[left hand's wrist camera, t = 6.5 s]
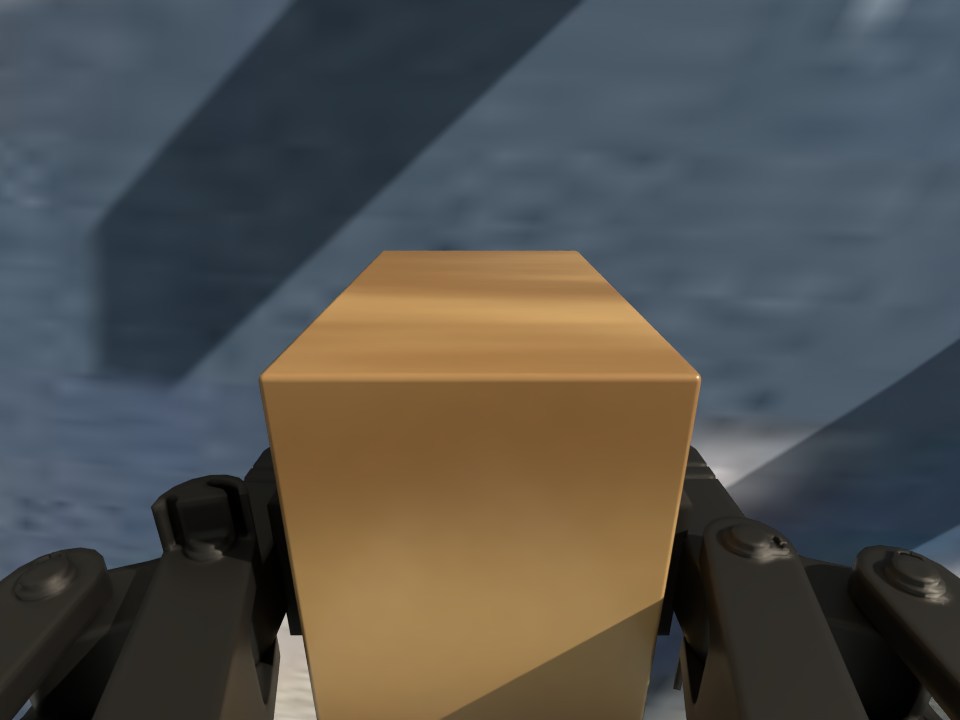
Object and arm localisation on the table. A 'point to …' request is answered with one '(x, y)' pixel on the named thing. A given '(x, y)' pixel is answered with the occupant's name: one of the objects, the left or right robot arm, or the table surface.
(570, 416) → the oak bar
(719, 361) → the table surface
